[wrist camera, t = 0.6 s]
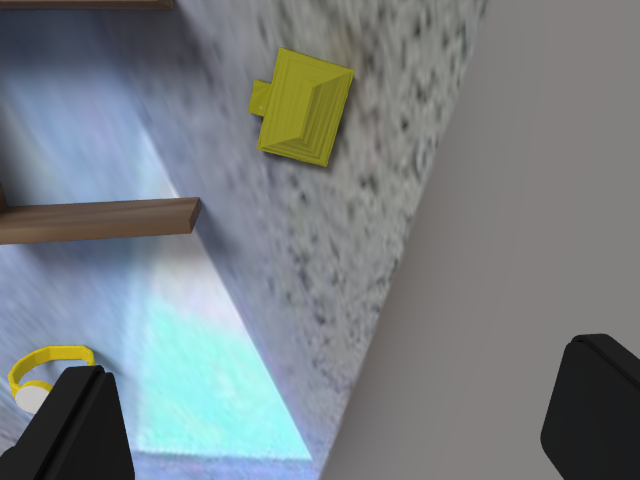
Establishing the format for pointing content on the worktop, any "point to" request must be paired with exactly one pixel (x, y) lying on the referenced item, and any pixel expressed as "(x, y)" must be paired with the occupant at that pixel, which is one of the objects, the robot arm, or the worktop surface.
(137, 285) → the worktop surface
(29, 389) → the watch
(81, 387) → the robot arm
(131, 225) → the box
